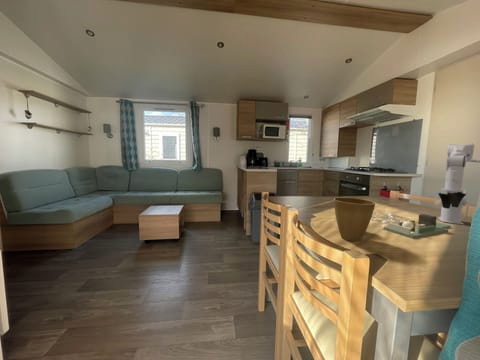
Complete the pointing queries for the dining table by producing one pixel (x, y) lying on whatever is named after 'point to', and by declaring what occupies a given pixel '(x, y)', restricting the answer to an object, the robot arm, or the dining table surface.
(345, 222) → the plant pot
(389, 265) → the dining table surface
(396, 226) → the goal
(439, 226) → the green long flat piece
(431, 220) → the block ended dumbbell
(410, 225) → the ball
